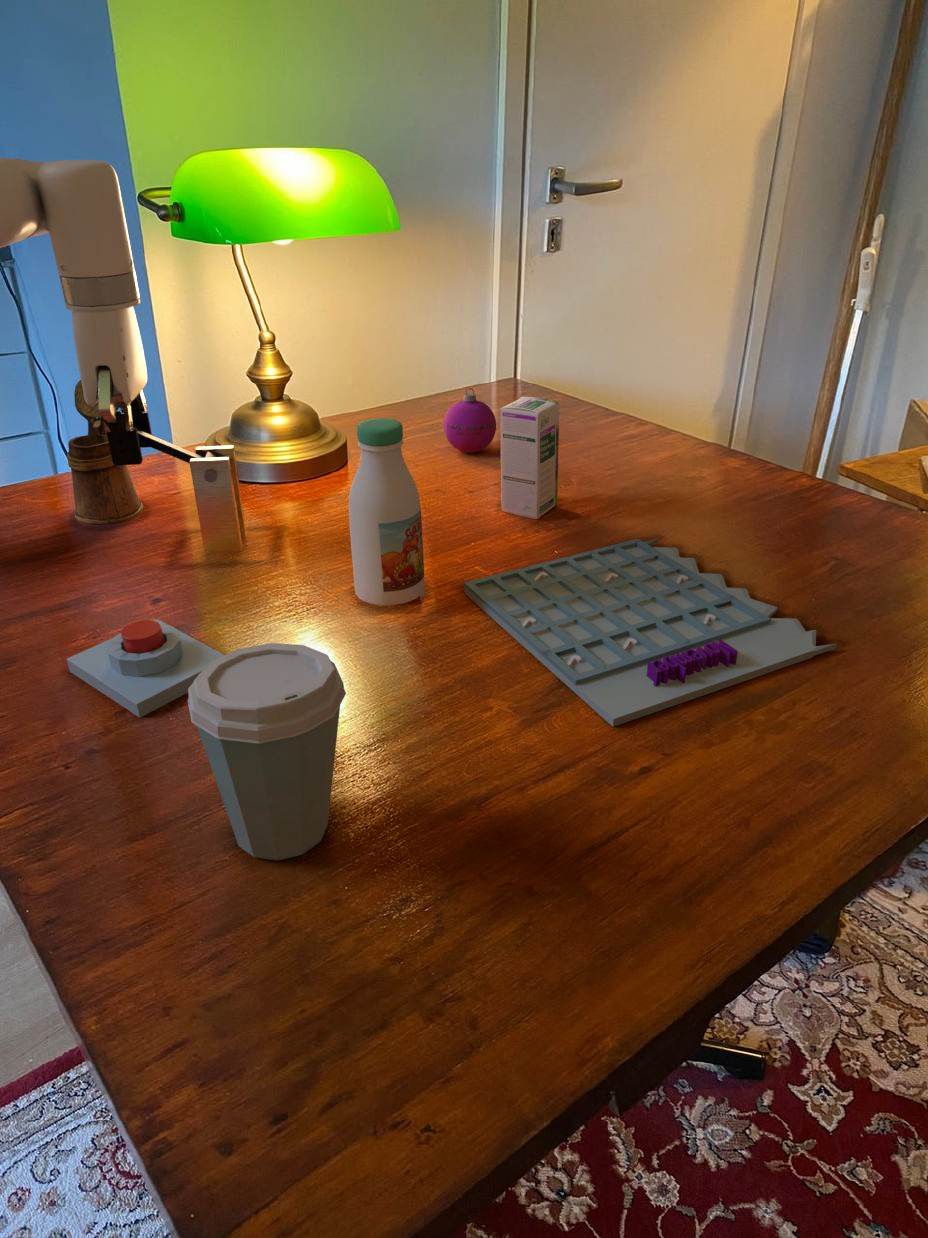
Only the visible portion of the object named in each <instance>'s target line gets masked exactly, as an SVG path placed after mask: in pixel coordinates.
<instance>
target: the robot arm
mask: <svg viewBox="0 0 928 1238" xmlns="http://www.w3.org/2000/svg"><path fill="white" fill-rule="evenodd" d="M48 234H49V237H50V242H51V245H52V251H53V255H54V259H55V263H56V268H57V273H58V277H59V282H60V286H61V291H62V295H63V299H64V304H65V309H66V310H68V311H71V320H72V330H73V339H74V346H75V353H76V360H77V365H78V370H79V371H78V372H79V377H80V380H81V383H82V388H83V394H84V398H85V401H86V403H87V404H88V405H90V406H94V405H95V404H96V403H97V402H98V401H99V413H100V415H101V416H102V419H103V420H104V426H105V431H106V434H107V438H108V443H109V447H110V452H111V457H112V461H113V464H114V465H127V466H137V465H142V463H143V461H144V459H143V454H142V449H143V448H150V447H149V446H147V445H144V444H142V443H139V438H138V433H137V429H133V422H132V420H137V421H138V422H139V423H140V425H141V428H140V431H143V432H145V433H147V434H150V435H152V436H153V432H152V428H151V422H150V417H149V412H147V411H148V407H147V406H148V405H147V402H146V397H145V394H144V393H145V392H144V388H145V386H146V385H147V382H148V370H147V363H146V357H145V351H144V347H143V342H142V337H141V333H140V328H139V325H138V319H137V315H136V312H135V309H134V307H136V306H138V305H140V304H141V297H140V291H139V286H138V280H137V274H136V270H135V264H134V260H133V254H132V249H131V248H132V247H131V243H130V242H131V241H130V238H129V232H128V225H127V221H126V215H125V209H124V204H123V198H122V192H121V188H120V183H119V178H118V175H117V172H116V170H115V168H114V167H113V166H112V165H111V164H110V163H109V162H107V161H104V160H102V159H101V160H99V159H63V160H54V161H47V162H45V161H34V160H29V159H28V160H27V159H21V158H19V159H18V158H13V157H12V158H11V157H10V158H9V157H2V158H1V157H0V249H2V248H5V247H8V246H10V245H13V244H16V243H18V242H21V241H24V240H28V239H30V238H34V237H38V236H43V235H48ZM114 397H117V399H118V402H114ZM116 408H119V409H120V410H117V411H116Z"/></svg>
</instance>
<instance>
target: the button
mask: <svg viewBox="0 0 928 1238" xmlns="http://www.w3.org/2000/svg"><path fill="white" fill-rule="evenodd" d="M152 620H153V619H144V620H137V621H133V622H130V623H129V624H126V625H125V626H124V627H123V628H122V629H121V632H120V633H121V635H122V639H123V643H124V648H125V650H126V651H127V652H128V653H135V654H142V653H147V652H152V651H154V650H156V649H158V648H160V647H162V646H163V644H164V638H163V633H162V628H161V625H160V624H159V623H158V622H156V621H152Z"/></svg>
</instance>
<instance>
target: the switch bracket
mask: <svg viewBox="0 0 928 1238" xmlns="http://www.w3.org/2000/svg"><path fill="white" fill-rule="evenodd" d="M207 452H211V453H213V454H215V455H218V456H220V457H218V458H205V456H206V454H207ZM194 453H195V454H197V455H199V456H202V457H204V458H195V459H190V461H189V463H190V464H189V463H188V464H189V467H190V473H191V480H192V485H193V491H194V496H195V503H196V509H197V515H198V521H199V526H200V532H201V539H202V544H203V550H204V553H205V554H212V553H213V554H214V553H215V554H217V553H234V552H242V551H243V548H244V547H243V542H242V541H243V540H242V539H244V538H247V527H246V520H245V513H244V507H243V506H244V505H243V499H242V492H241V486H240V478H239V472H238V465H237V458H236V450H235V445H215V446H214V445H213V446H211V445H210V446H196V447H195V449H194Z"/></svg>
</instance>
